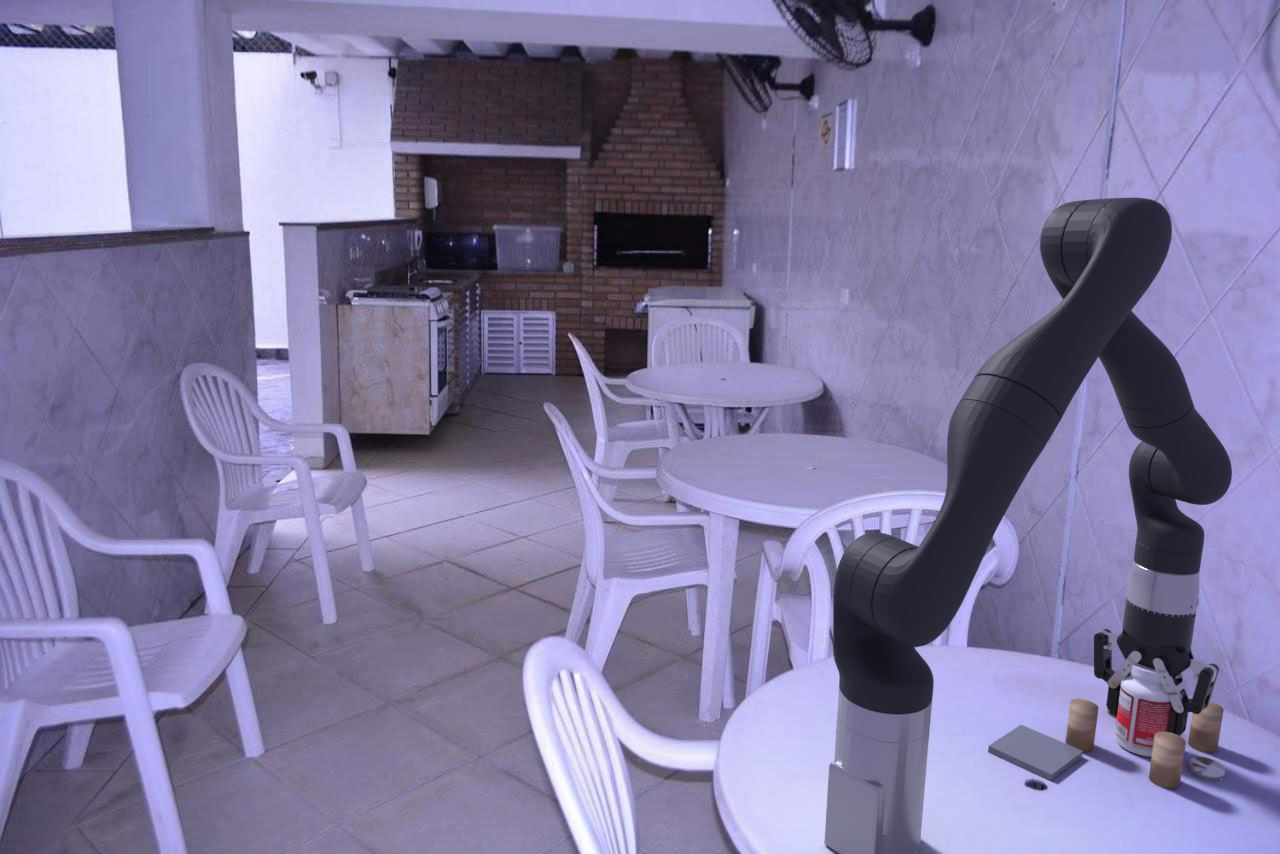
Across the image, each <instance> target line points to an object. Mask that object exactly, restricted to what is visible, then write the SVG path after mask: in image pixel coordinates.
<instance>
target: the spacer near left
mask: <svg viewBox="0 0 1280 854" xmlns="http://www.w3.org/2000/svg"><path fill="white" fill-rule="evenodd" d="M1186 745H1187V742H1186V740H1185V739H1184V738H1183V736H1181V735H1180V736H1179V735H1176V734H1174V733H1170V732H1157V733H1155V736H1154V743H1153V750H1152V757H1150V759H1151V760H1150V766H1149V772H1148V773H1149V774H1148V779H1149V781H1150V783H1152V784H1154V785H1156V786H1157V787H1160V788H1164V789H1167V790H1176V789H1178V788H1180V785H1181V778H1182V772H1183V767H1184V766H1183V765H1184V759H1185V753H1186Z"/></svg>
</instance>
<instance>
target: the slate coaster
mask: <svg viewBox="0 0 1280 854" xmlns="http://www.w3.org/2000/svg"><path fill="white" fill-rule="evenodd" d="M987 752H988V753H990V754H992V755H995V756H997V757H999V758H1001V759H1003V760H1006V761H1008V762H1009V763H1012V764H1014V765H1016V766H1017V767H1021V768H1022V769H1025V770H1026V771H1029V772H1031V773H1033V774H1035V775H1038V776H1039V777H1042V778H1044V779H1046V780H1048V781H1053V780H1054V779H1055V778H1057V777H1058V776H1059V775H1061V774H1062V773H1063V772H1064V771H1066V770H1068V768H1070V767H1071V766H1072V765H1074V764H1075V763H1076V762H1078V761H1079V760H1080V759H1081V758H1083V755H1084V752H1083V751H1082V750H1079V749H1077V748H1075V747H1072V746H1070V745H1068V744H1066V742H1063V741H1060V740H1058V739H1056V738H1053V737H1051V736H1049V735H1046V734H1044V733H1041V732H1039V731H1037V730H1034V729H1032V728H1030V727H1028V726H1025V725H1023V724H1020V725H1018V726H1017V727H1015V728H1013V729H1012V730H1010V731H1009V732H1007V733H1006V734H1005V735H1003V736H1001V737H1000V738H998V739H996V740H995V741H993V742H992V743H990V744H989V745H988V750H987Z"/></svg>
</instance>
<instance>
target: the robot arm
mask: <svg viewBox="0 0 1280 854" xmlns="http://www.w3.org/2000/svg"><path fill="white" fill-rule="evenodd" d="M1172 236H1173V225H1172V219H1171V216H1170V213H1169V212H1168V210H1167V208H1165V206H1164V205H1163V204H1161V203H1160V202H1158V201H1156V200H1155V199H1151V198H1145V197H1113V198H1111V197H1110V198H1095V199H1094V198H1093V199H1083V200H1076V201H1075V200H1074V201H1069V202H1066V203H1063V204H1061V205H1059V206H1058V207H1056V208H1055V209H1053V210H1052V211H1051V212H1050V214H1049V215H1048V216H1047V218H1046V220H1045V221H1044V224H1043V227H1042V229H1041V233H1040V239H1039V251H1040V256H1041V261H1042V264H1043V267H1044V269H1045V271H1046V273H1047V275H1048V277H1049V278H1050V281H1051V283H1052V284H1053V285H1054V287H1055V290H1056V291H1057V292H1058V294H1059V295H1060V298H1062V300H1061V301H1060V302H1059V303H1058V304H1057V306H1055V307H1054V308H1052V309H1051V311H1050V312H1049V313H1048V314H1046V315H1045V316H1043V317H1042V318H1041V319H1040V320H1038V321H1036V322H1035V323H1034V324H1032V325H1031V326H1029V327H1028V328H1027V329H1025V330H1024V331H1023V332H1022V331H1021V333H1020V334H1019V335H1017V336H1015V337H1014V338H1012V339H1011V340H1009V342H1007V343H1006V344H1004V345H1003V346H1002V347H1001V348H999V349H997V351H996V352H995V353H993V354H992V355H991V356H990V357H989V358H988V359H987V360H986V361H985V362H984V363H983V365H981V367H980V368H979V370H978V371H977V372H976V374H975V375H974V377H973V379H971V382H970V383H969V385H968V387H967V389H966V390H965V392H964V393H963V395H962V397H961V399H960V400H959V401H958V403H957V405H956V407H955V409H954V410H953V413H952V414H951V417H950V419H949V425H948V430H947V439H946V440H947V441H946V462H947V463H946V467H947V468H946V471H947V475H946V478H947V479H946V488H945V494H944V497H943V498H944V499H943V502H942V505H941V506H940V509H939V511H938V513H937V515H936V518H935V519H934V521H933V523H932V524H931V527H930V528H929V531H927V533H926V535H925V536H924V538H923V539H922V541H921V543H920V544H919V545H915V544H914V543H911V542H908V541H905V540H903V539H901V538H899V537H896V536H894V535H892V534H891V535H890V534H888V533H883V532H880V531H879V532H878V531H877V532H876V531H873V532H867V533H864V534H862V535H860V536H858V537H857V538H855V539H854V540H853V541H851V542H850V544H849V545H848V546H847V547H846V549H845V551H844V552H843V554H842V556H841V557H840V559H839V563H838V566H837V569H836V573H835V577H834V585H833V596H832V597H833V600H832V604H833V605H832V611H833V612H832V616H833V617H832V618H833V619H832V620H833V621H832V624H833V625H832V634H833V635H832V651H833V659H834V663H835V666H836V668H837V671H838V675H839V680H838V682H839V683H838V700H837V712H836V713H837V714H836V729H835V730H836V731H835V745H834V758H833V759H834V760H833V761H832V762H830V763H829V765H828V778H827V779H828V780H827V795H826V796H827V797H826V810H825V813H826V814H825V829H824V845H825V846H827V847H829V848H831V849H832V850H833V851H835V852H836V853H837V854H920V849H921V839H922V829H923V827H922V826H923V814H924V803H925V802H924V801H925V789H926V779H927V778H926V777H927V767H928V765H927V764H928V752H929V741H930V728H931V717H932V709H933V708H932V707H933V696H934V687H935V686H934V685H935V684H934V683H935V682H934V679H935V678H934V675H933V671H932V669H931V667H930V665H929V664H928V662H927V661H926V660H925V659H924V658H923V656H922V655H920V653H919V651H918V650H917V649H916V648H921V647H924V646H927V645H929V644H930V643H932V642H934V641H935V640H937V639H938V638H939V637H940V636H941V635H942V634H943V633H944V632H945V631H946V629H947V628H948V627H949V625H951V623H952V622H953V620H954V618H955V617H956V615H957V613H958V612H959V610H960V608H961V606H962V605H963V602H964V600H965V598H966V596H967V595H968V592H969V589H970V587H971V585H972V583H973V581H974V579H975V576H976V575H977V572H978V570H979V568H980V566H981V564H982V561H983V559H984V558H985V555H986V553H987V550H988V549H989V546H990V544H991V541H992V540H993V537H994V536H995V533H996V531H997V529H998V527H999V525H1000V524H1001V522H1002V520H1003V518H1004V517H1005V514H1006V512H1007V511H1008V509H1009V507H1010V505H1011V503H1012V502H1013V500H1014V498H1015V496H1016V495H1017V493H1018V491H1019V489H1020V487H1021V486H1022V484H1023V483H1024V481H1025V479H1026V477H1027V475H1028V474H1029V473H1030V471H1031V469H1032V467H1033V465H1034V464H1035V462H1036V461H1037V459H1038V458H1039V457H1040V455H1041V453H1042V452H1043V451H1044V450H1045V447H1046V446H1047V444H1048V442H1049V441H1050V439H1051V437H1052V435H1053V434H1054V432H1055V430H1056V429H1057V427H1058V425H1059V423H1060V422H1061V420H1062V419H1063V416H1064V415H1065V413H1066V411H1067V409H1068V408H1069V405H1070V404H1071V402H1072V400H1073V398H1074V397H1075V395H1076V393H1077V391H1078V390H1079V388H1080V386H1081V385H1082V383H1083V382H1084V380H1085V379H1086V377H1087V375H1088V374H1089V373H1090V371H1091V369H1092V368H1093V366H1094V365H1095V363H1096V362H1097V360H1098V358H1099V361H1100V362H1101V364H1102V366H1103V368H1104V369H1105V371H1106V374H1107V376H1108V378H1109V381H1110V383H1111V385H1112V387H1113V391H1114V393H1115V396H1116V398H1117V401H1118V404H1119V407H1120V409H1121V413H1122V414H1123V417H1124V419H1125V423H1126V425H1127V427H1128V429H1129V431H1130V433H1131V434H1132V435H1133V436H1134V437H1135V438H1136V439H1138V440H1139V441H1140V442H1139V443H1138V444H1137V446H1136V448H1135V449H1134V450H1133V452H1132V454H1131V457H1130V460H1129V465H1128V478H1129V487H1130V492H1131V498H1132V503H1133V509H1134V516H1135V517H1134V518H1135V522H1136V527H1137V530H1136V531H1137V532H1136V538H1135V546H1134V553H1133V560H1132V565H1131V569H1130V571H1129V575H1128V583H1127V589H1126V595H1125V597H1126V598H1125V604H1124V605H1125V606H1124V610H1123V611H1124V612H1123V618H1122V619H1123V620H1122V621H1123V622H1122V631H1121V633H1120V634H1119V633H1118V634H1117V633H1113V632H1112V631H1111V630H1110V629H1108V628H1103V629H1102V630H1100V631H1098V632H1097V633H1095V634H1094V635H1093V675H1094V677H1095V678H1097V679H1099V680H1100V679H1101V680H1103V681H1104V682H1105V683H1106V684H1107V686H1108V687H1107V697H1106V707H1107V710H1108V709H1109V710H1110V714H1111V715H1113V716H1116V717H1117V711H1118V703H1119V695H1120V687H1121V681H1122V680H1123V679H1125V678H1126V677H1127V676H1128V675H1129V674H1131V673H1130V672H1131V670H1132V666H1133V664H1134V665H1137V664H1140V665H1143V666H1146V667H1149V668H1152V669H1155V670H1156V671H1157V673H1160V680H1161V683H1162V685H1163V688H1164V691H1165V693H1166V694H1168V696H1169V698H1170V701H1171V704H1172V706H1173V709H1172V710H1170V717H1169V724H1168V731H1167V732H1170V733H1174V734H1176V735H1179V736H1180V737H1181V735H1183V734H1184V732H1185V731H1186V730H1187V723H1188V718H1189V713H1191V714H1192V713H1194V714H1199V713H1200V712H1202V710H1203V709H1205V708H1206V707H1208V704H1209V701H1211V697H1212V694H1213V691H1214V688H1215V685H1216V682H1217V679H1218V675H1219V672H1220V668H1219V665H1217V664H1216V663H1209V664H1206V663H1204V662H1202V661H1200V660H1198V659H1195V658H1194V655H1193V652H1192V644H1193V638H1194V637H1193V636H1194V629H1195V622H1196V618H1197V617H1196V615H1197V610H1198V609H1197V608H1198V607H1199V603H1200V598H1199V596H1200V573H1201V571H1200V569H1201V563H1202V559H1203V557H1202V556H1203V550H1204V544H1205V530H1204V527H1203V526H1202V525H1201V523H1199V522H1197V521H1195V520H1194V519H1193V518H1191V517H1189V516H1188V515H1186V514H1185V513H1183V512H1182V511H1181V510H1180V508H1179V506H1178V502H1177V501H1180V502H1183V503H1187V504H1190V505H1197V506H1208V505H1210V504H1211V505H1212V504H1213V503H1214V504H1215V503H1216V502H1218V501H1220V500H1221V499H1222V498H1223V497H1224V496H1225V495H1226V494H1227V492H1228V490H1229V488H1230V486H1231V484H1232V477H1233V467H1232V462H1231V459H1230V456H1229V453H1228V452H1227V449H1226V448H1225V447H1224V445H1223V443H1222V442H1221V441H1220V439H1219V438H1218V436H1217V435H1216V433H1214V431H1213V430H1212V428H1211V427H1210V425H1209V424H1208V422H1207V421H1206V420H1205V419H1204V418H1203V417H1202V416H1201V414H1200V413H1199V412H1198V411H1197V410H1196V408H1195V405H1194V402H1193V399H1192V395H1191V392H1190V389H1189V386H1188V384H1187V381H1186V378H1185V374H1184V372H1183V370H1182V367H1181V365H1180V364H1179V362H1178V360H1177V359H1176V357H1175V356H1174V354H1173V353H1172V351H1171V350H1170V349H1169V348H1168V347H1167V345H1166V344H1165V343H1164V342H1163V341H1162V340H1161V339H1160V338H1159V337H1158V336H1157V335H1156V334H1155V333H1154V332H1153V331H1152V330H1151V329H1150V328H1149V327H1148V326H1147V325H1146V324H1144V322H1143V321H1142V320H1141V319H1140V318H1139V317H1138V316H1137V314H1135V313H1134V312H1133V309H1135V308H1134V307H1135V306H1136V305H1137V304H1138V302H1139V301H1140V300H1141V299H1142V297H1143V296H1144V295H1145V293H1146V292H1147V290H1148V289H1149V288H1150V286H1151V285H1152V283H1153V282H1154V280H1155V279H1156V277H1157V276H1158V274H1159V273H1160V271H1161V268H1162V267H1163V265H1164V263H1165V261H1166V259H1167V256H1168V252H1169V250H1170V248H1171V247H1170V246H1171V242H1172ZM1176 500H1177V501H1176ZM1116 645H1117V647H1118V649H1119V650H1120V652H1121V654H1122V657H1123V658H1124V661H1123V662H1122V664H1120V665H1119V667H1118V668H1117V669H1116V670H1115V671H1114V670H1113V667H1112V666H1113V660H1112V658H1113V655H1112V654H1113V649H1114V648H1116ZM1188 669H1191V670H1192V674H1193V675H1192V677H1193V679H1194V680H1195V681H1196V685H1195V689H1194V691H1193V695H1192V697H1190V694H1189V693H1188V689H1187V681H1186V679H1185V676H1184V674H1183V672H1185V671H1186V670H1188Z"/></svg>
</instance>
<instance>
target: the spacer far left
mask: <svg viewBox="0 0 1280 854" xmlns="http://www.w3.org/2000/svg"><path fill="white" fill-rule="evenodd" d="M1223 717H1224V708H1223V706H1221V705H1220V704H1218V703H1216V702H1214V701H1211V700H1210V701H1209V704H1208V707H1206V708H1205V709H1203V710H1202V712H1200V713H1199V714H1194V713H1192V712H1191V720H1190V726H1189V733H1188V740H1187V744H1188V745H1189V747H1191V748H1192V749H1193V750H1195V749H1196V750H1195V751H1198V752H1201V753H1205V752H1207V753H1206V754H1214V752H1215V753H1217V752H1218V748H1219V741H1220V737H1221V736H1220V735H1221V728H1222V723H1223V722H1222V721H1223ZM1216 751H1217V752H1216Z"/></svg>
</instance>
